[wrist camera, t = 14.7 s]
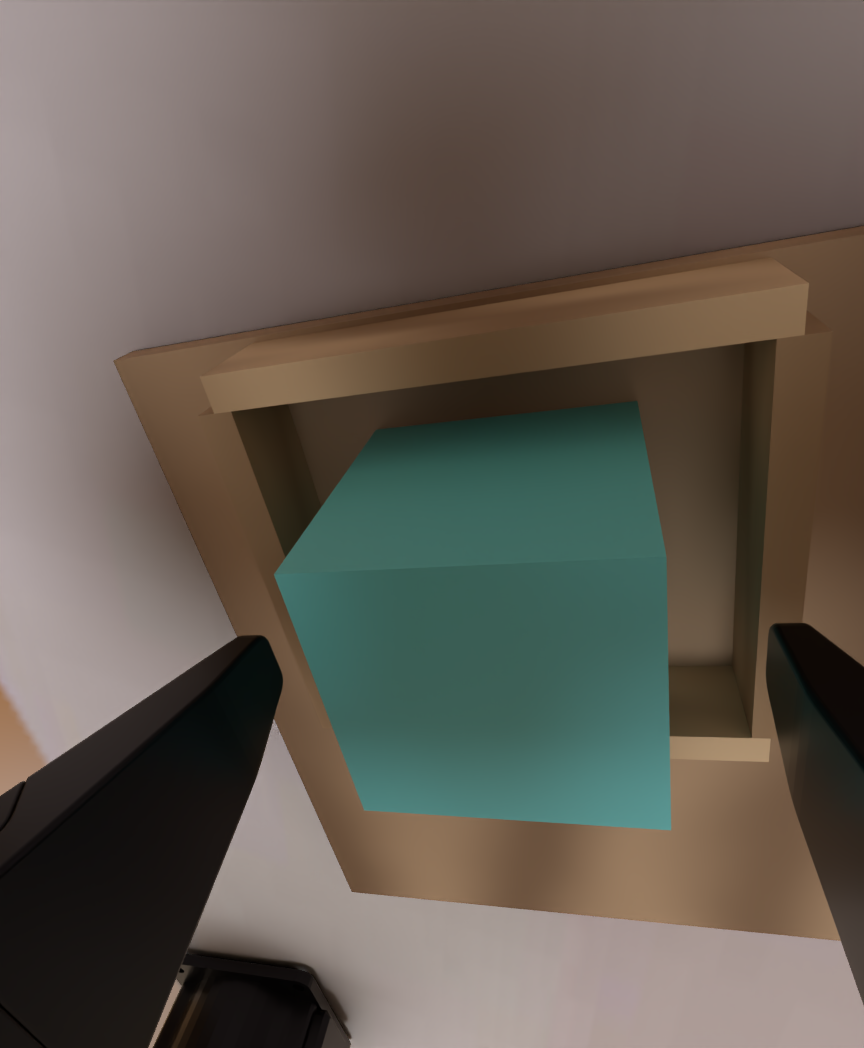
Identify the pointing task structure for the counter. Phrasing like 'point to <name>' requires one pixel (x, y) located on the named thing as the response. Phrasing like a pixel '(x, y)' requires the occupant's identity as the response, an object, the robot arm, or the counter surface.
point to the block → (495, 619)
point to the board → (685, 517)
